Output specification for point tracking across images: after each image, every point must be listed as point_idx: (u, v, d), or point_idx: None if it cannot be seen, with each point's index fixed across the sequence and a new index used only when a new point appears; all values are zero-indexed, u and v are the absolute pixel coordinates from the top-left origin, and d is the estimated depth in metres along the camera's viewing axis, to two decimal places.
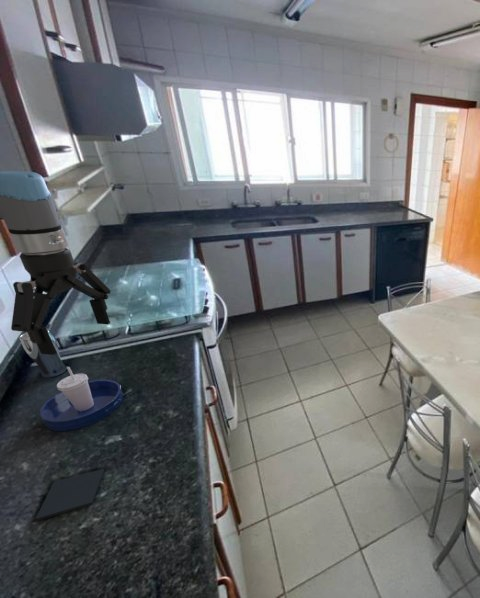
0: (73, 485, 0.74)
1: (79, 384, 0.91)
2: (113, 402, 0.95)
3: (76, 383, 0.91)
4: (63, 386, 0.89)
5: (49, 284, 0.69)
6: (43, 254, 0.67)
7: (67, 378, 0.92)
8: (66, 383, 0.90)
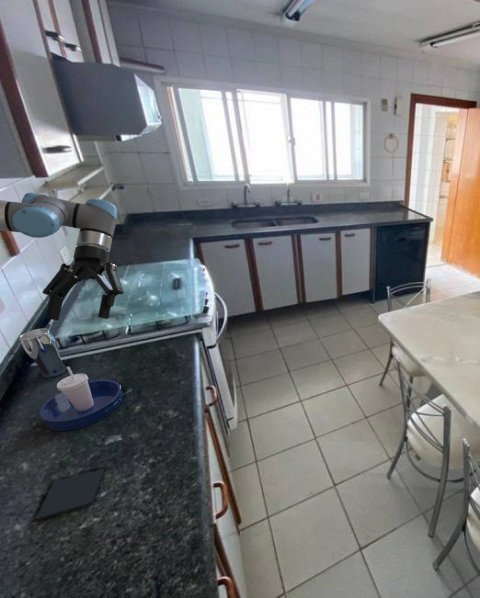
0: (73, 485, 0.74)
1: (79, 384, 0.91)
2: (113, 402, 0.95)
3: (76, 383, 0.91)
4: (63, 386, 0.89)
5: None
6: None
7: (67, 378, 0.92)
8: (66, 383, 0.90)
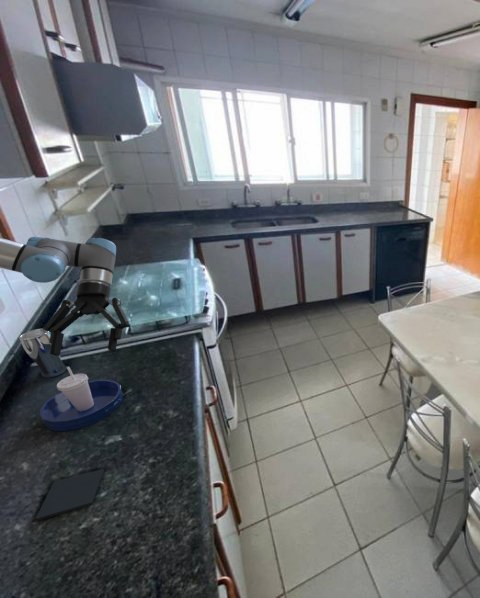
0: (73, 485, 0.74)
1: (79, 384, 0.91)
2: (113, 402, 0.95)
3: (76, 383, 0.91)
4: (63, 386, 0.89)
5: None
6: None
7: (67, 378, 0.92)
8: (66, 383, 0.90)
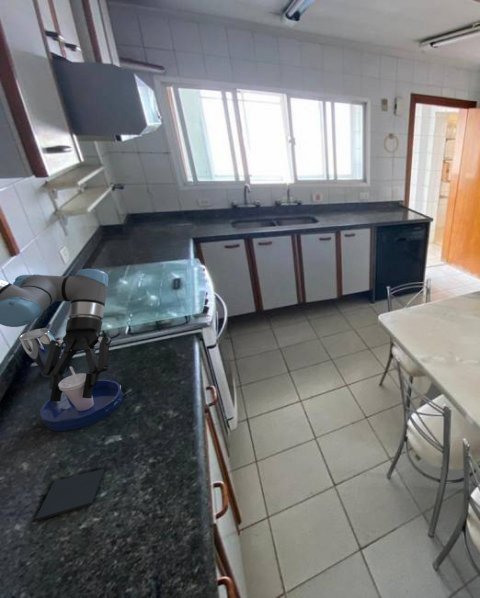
0: (73, 485, 0.74)
1: (81, 384, 0.91)
2: (113, 402, 0.95)
3: (78, 383, 0.91)
4: (65, 385, 0.89)
5: None
6: None
7: (69, 377, 0.92)
8: (68, 383, 0.90)
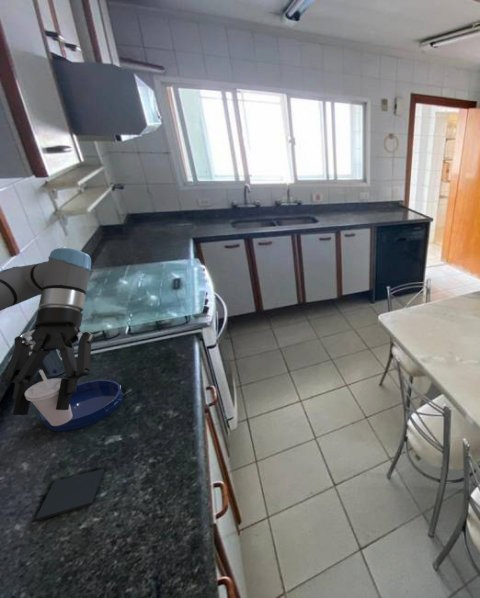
0: (73, 485, 0.74)
1: (54, 392, 0.71)
2: (113, 402, 0.95)
3: (50, 391, 0.71)
4: (34, 394, 0.70)
5: None
6: None
7: (39, 384, 0.73)
8: (37, 391, 0.71)
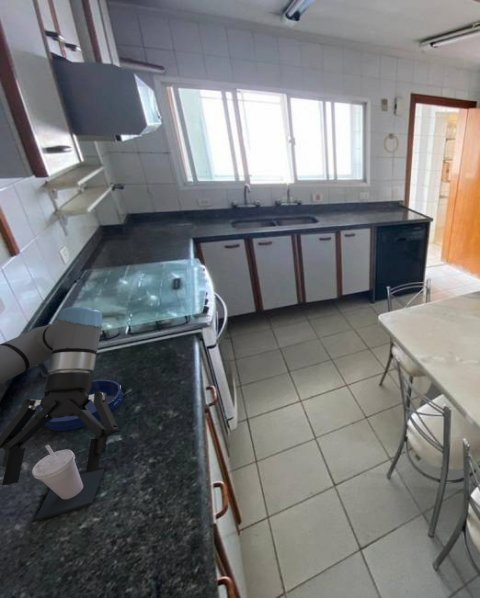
0: None
1: (62, 468, 0.68)
2: (113, 402, 0.95)
3: (58, 466, 0.68)
4: (41, 471, 0.67)
5: None
6: None
7: (47, 458, 0.70)
8: (45, 467, 0.68)
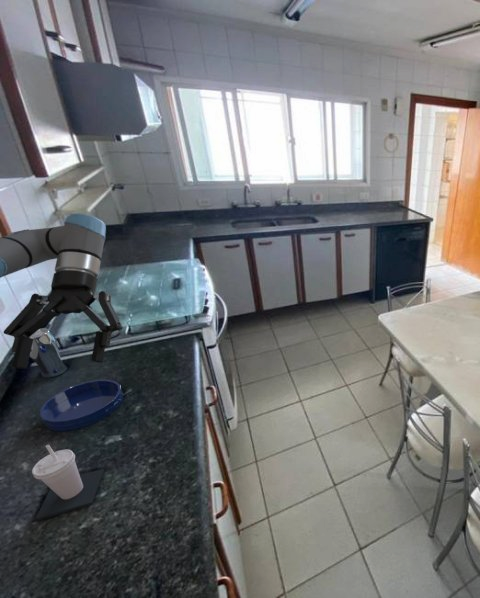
0: None
1: (62, 468, 0.68)
2: (113, 402, 0.95)
3: (58, 466, 0.68)
4: (41, 471, 0.67)
5: None
6: None
7: (47, 458, 0.70)
8: (45, 467, 0.68)
